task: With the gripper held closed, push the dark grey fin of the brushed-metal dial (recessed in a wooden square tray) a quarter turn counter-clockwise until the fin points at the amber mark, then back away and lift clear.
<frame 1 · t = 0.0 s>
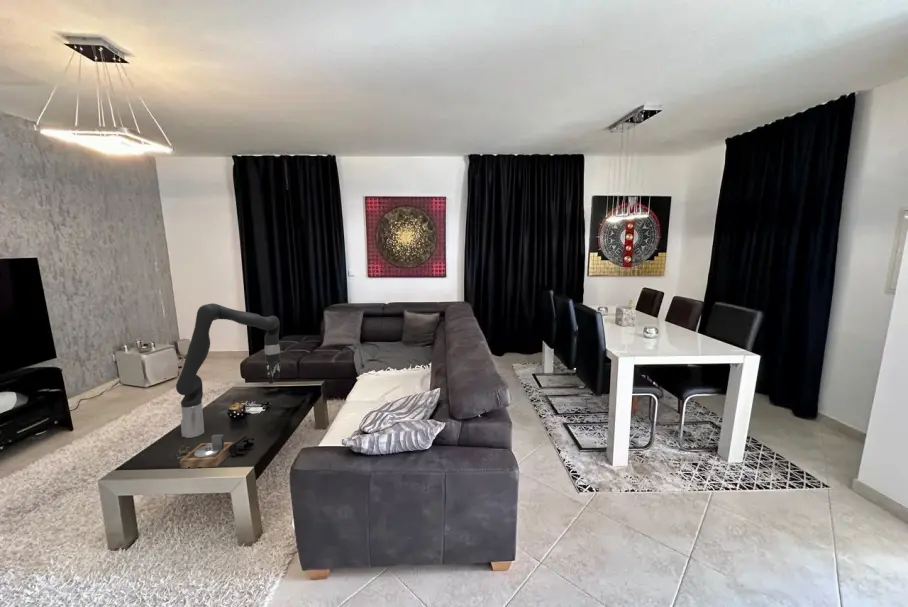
hand: (274, 380, 205), 29 cm above the table, fingers open, 8 cm apart
eiffel tower figurine: (184, 456, 183), on the table
dial: (209, 444, 178), point 7 cm above the table, hinge at 0.0°
wooden square tray: (209, 458, 179), on the table
end cap: (242, 452, 185), on the table
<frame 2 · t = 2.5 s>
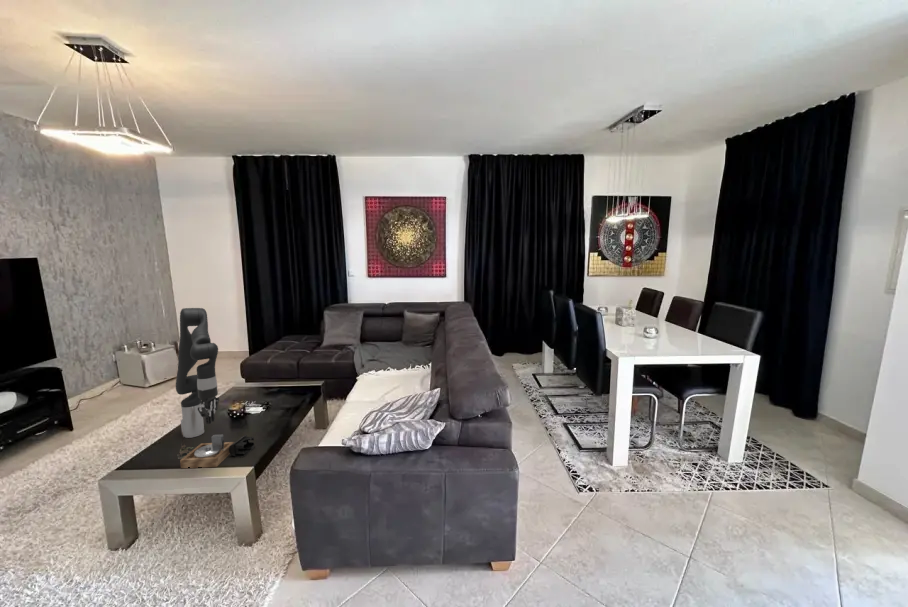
hand: (210, 422, 171), 21 cm above the table, fingers closed
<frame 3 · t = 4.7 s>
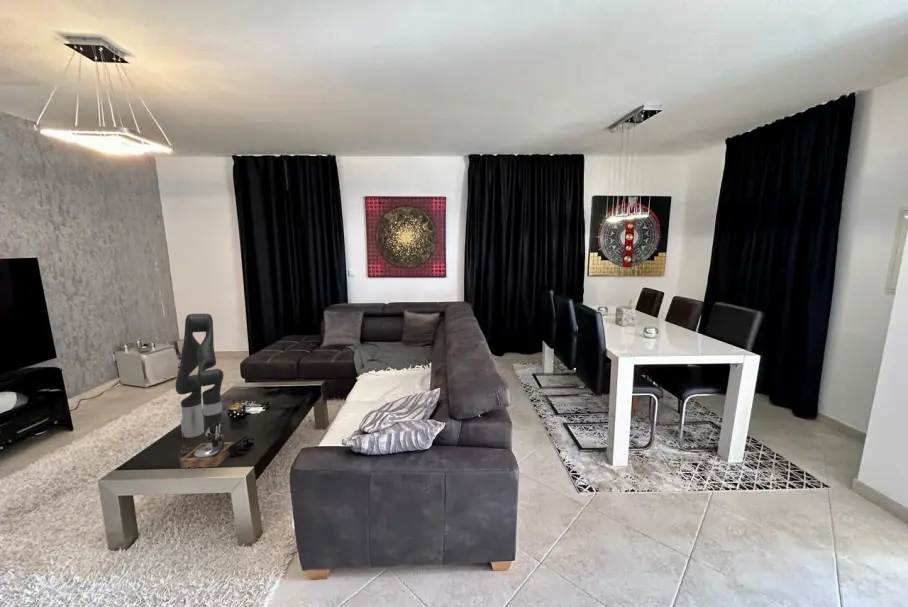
hand: (215, 446, 175), 8 cm above the table, fingers closed
dial: (209, 444, 179), point 7 cm above the table, hinge at 0.4°, touching gripper
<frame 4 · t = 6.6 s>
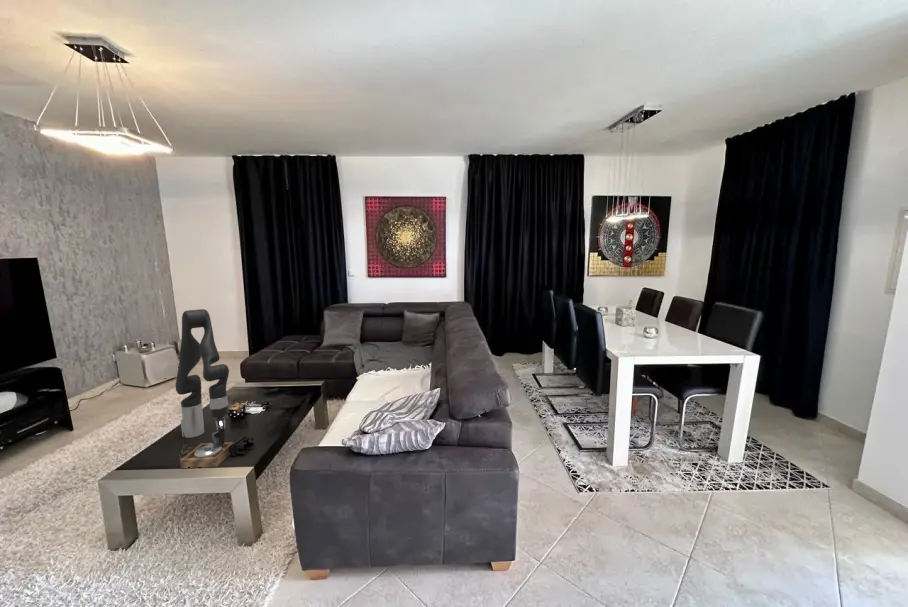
hand: (222, 440, 180), 8 cm above the table, fingers closed
dial: (209, 444, 179), point 7 cm above the table, hinge at 53.0°, touching gripper
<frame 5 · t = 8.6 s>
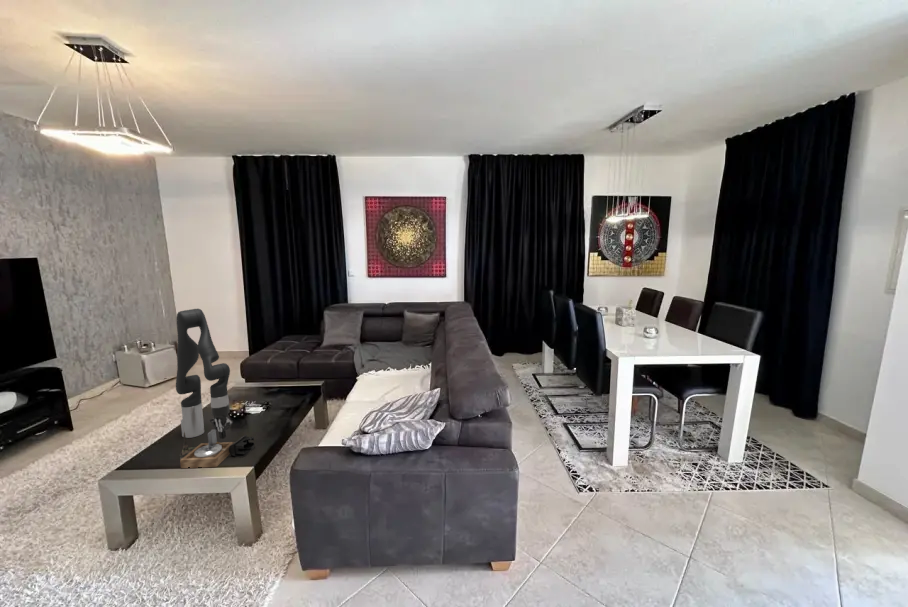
hand: (222, 438, 183), 8 cm above the table, fingers closed
dial: (208, 443, 179), point 7 cm above the table, hinge at 96.2°
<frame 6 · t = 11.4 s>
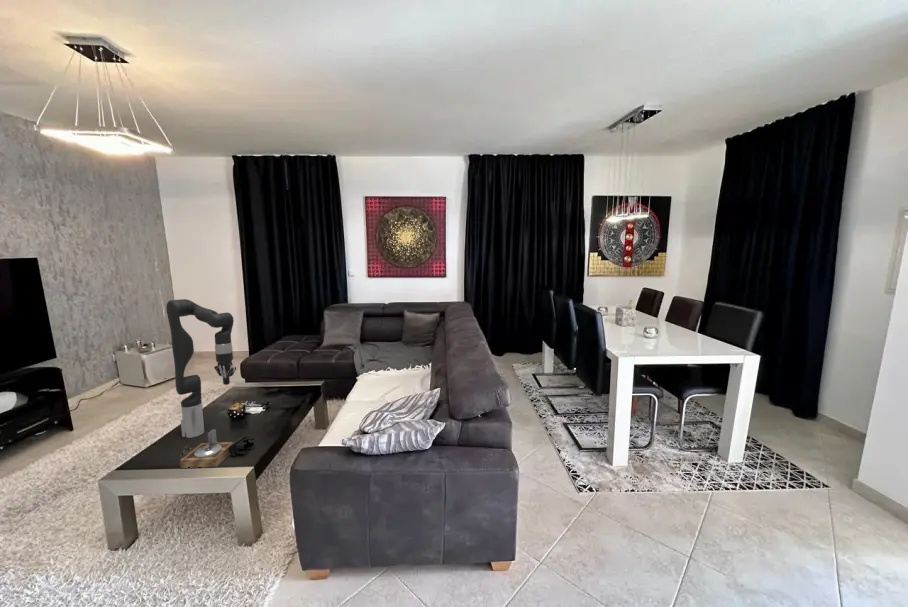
hand: (226, 384, 191), 32 cm above the table, fingers closed
at the end: dial at +96° (first picture: +0°) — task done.
